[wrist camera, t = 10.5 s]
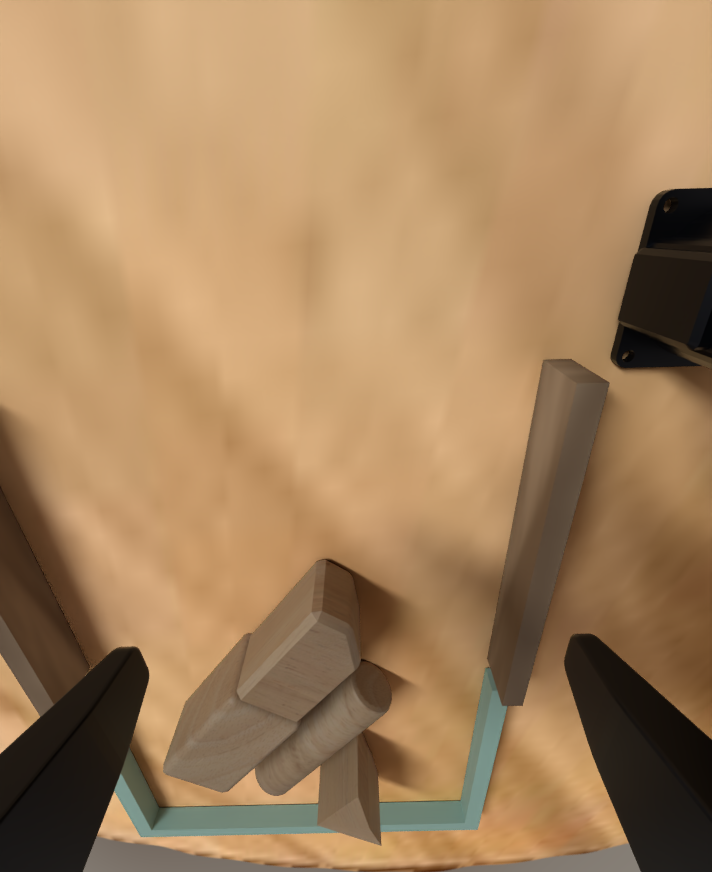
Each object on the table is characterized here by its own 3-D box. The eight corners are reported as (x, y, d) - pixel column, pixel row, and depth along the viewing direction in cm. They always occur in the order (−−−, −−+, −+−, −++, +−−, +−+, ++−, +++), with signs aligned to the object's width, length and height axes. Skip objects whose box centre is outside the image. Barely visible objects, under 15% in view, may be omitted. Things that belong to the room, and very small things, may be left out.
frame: (503, 667, 27) (511, 690, 26) (472, 807, 36) (477, 829, 35) (76, 677, 27) (62, 700, 26) (148, 814, 36) (141, 837, 35)
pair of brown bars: (571, 359, 18) (609, 382, 15) (505, 658, 27) (522, 705, 24) (-84, 375, 18) (-160, 401, 15) (71, 668, 27) (40, 716, 24)
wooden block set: (144, 801, 25) (308, 633, 18) (180, 703, 30) (317, 545, 23) (372, 868, 29) (568, 754, 23) (369, 773, 34) (529, 658, 28)
